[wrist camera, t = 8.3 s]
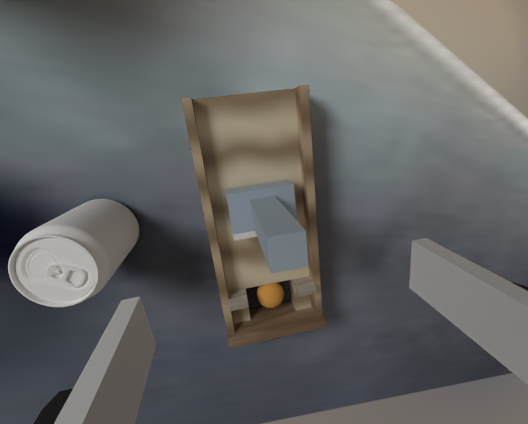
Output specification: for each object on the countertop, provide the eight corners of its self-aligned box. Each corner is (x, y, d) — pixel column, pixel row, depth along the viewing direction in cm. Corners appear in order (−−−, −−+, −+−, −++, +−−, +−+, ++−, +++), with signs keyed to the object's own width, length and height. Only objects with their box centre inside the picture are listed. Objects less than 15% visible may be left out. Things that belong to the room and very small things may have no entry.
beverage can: (86, 186, 33) (17, 214, 22) (150, 213, 35) (117, 252, 24) (64, 241, 34) (-11, 294, 23) (127, 264, 37) (86, 322, 25)
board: (186, 102, 32) (179, 96, 26) (297, 90, 34) (312, 82, 28) (227, 319, 42) (229, 348, 36) (312, 301, 44) (326, 326, 38)
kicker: (225, 188, 33) (230, 230, 19) (287, 179, 34) (336, 212, 20) (232, 231, 35) (242, 299, 21) (291, 221, 36) (339, 280, 22)
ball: (255, 281, 38) (260, 310, 37) (282, 276, 38) (288, 304, 37) (254, 284, 42) (259, 310, 40) (279, 279, 42) (284, 305, 41)
